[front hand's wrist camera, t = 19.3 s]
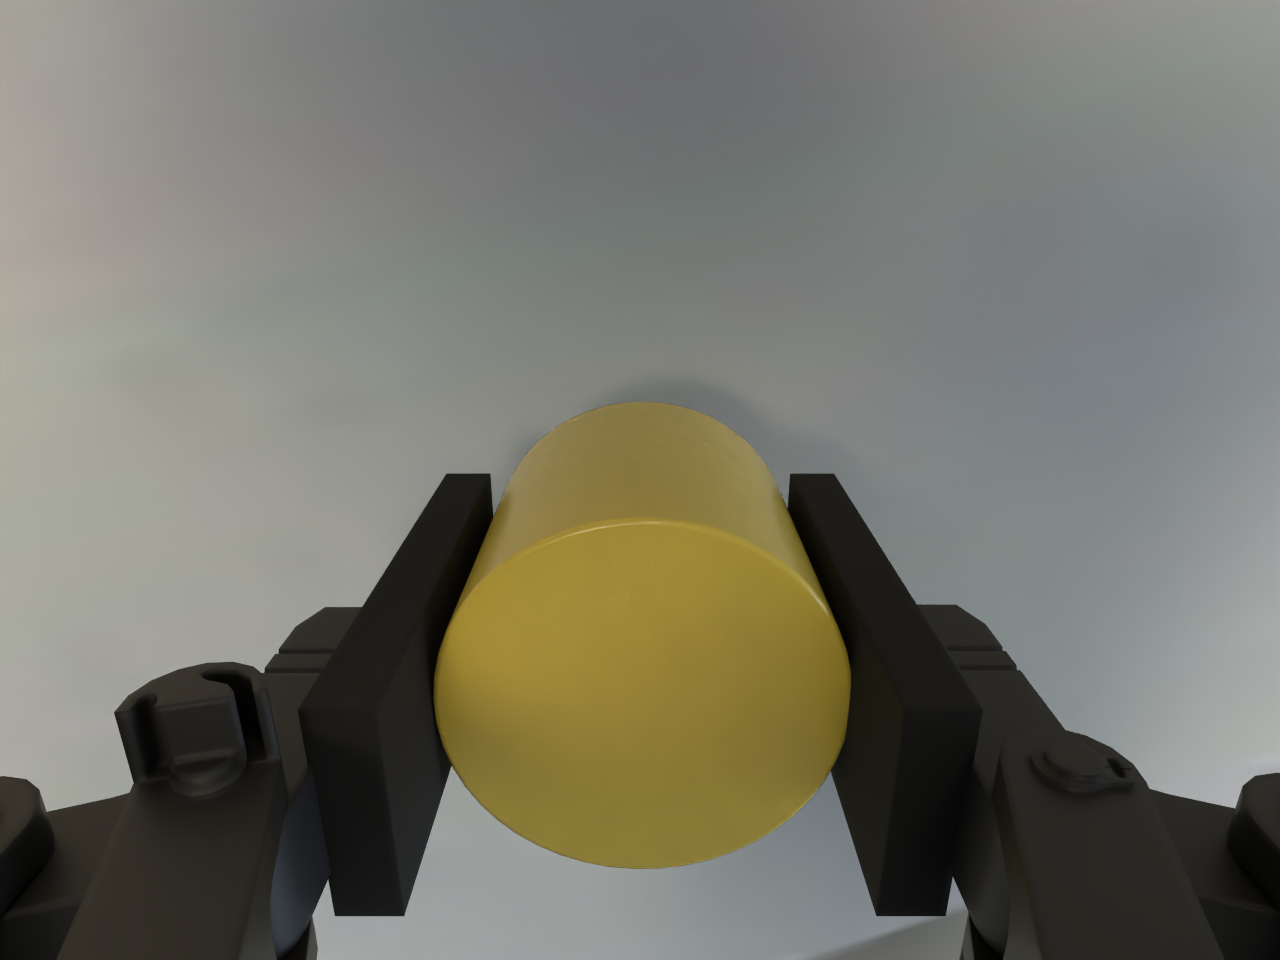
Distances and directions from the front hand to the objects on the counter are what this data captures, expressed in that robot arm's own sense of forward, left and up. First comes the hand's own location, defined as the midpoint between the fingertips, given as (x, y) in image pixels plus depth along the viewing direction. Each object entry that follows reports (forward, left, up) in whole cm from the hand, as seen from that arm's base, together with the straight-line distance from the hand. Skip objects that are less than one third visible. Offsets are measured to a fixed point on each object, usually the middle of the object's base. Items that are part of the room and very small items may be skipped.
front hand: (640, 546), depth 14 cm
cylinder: (0, 0, 0) cm, 0 cm away
